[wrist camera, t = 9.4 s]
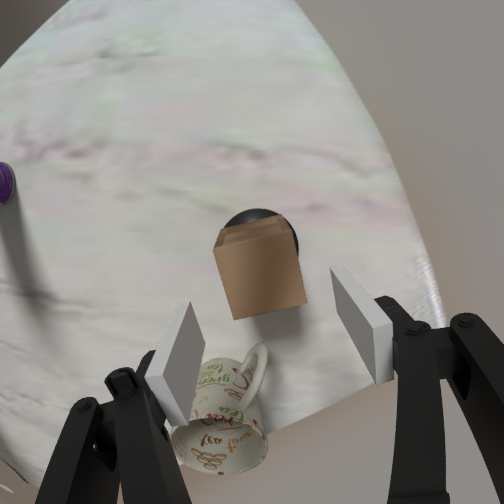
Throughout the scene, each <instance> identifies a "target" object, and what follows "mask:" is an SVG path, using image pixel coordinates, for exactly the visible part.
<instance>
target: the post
mask: <svg viewBox="0 0 504 504" xmlns="http://www.w3.org/2000/svg"><path fill="white" fill-rule="evenodd" d="M276 215H280V214H278V213H276V212H274V211H271V210H267V209H260V208H258V209H249V210H246V211H243V212H241V213H239V214H237V215H236V216H234V217H233V218H232V219H231V220H230V221H229V222H228V223H227V224H226V225H225V227H224V228H227V227H231V226H235V225H239V224H243V223H247V222H251V221H255V220H259V219H263V218H267V217H271V216H276ZM284 219H285V218H284ZM285 221H286V222H287V224H288V225H289V227H290V229H291V230H292V234H293V238H294V243H295V247H296V252H297V255H298V240H297V236H296V233H295V231H294V229H293V228H292V226H291V224H290V223H289V222H288V221H287V220H286V219H285Z"/></svg>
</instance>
